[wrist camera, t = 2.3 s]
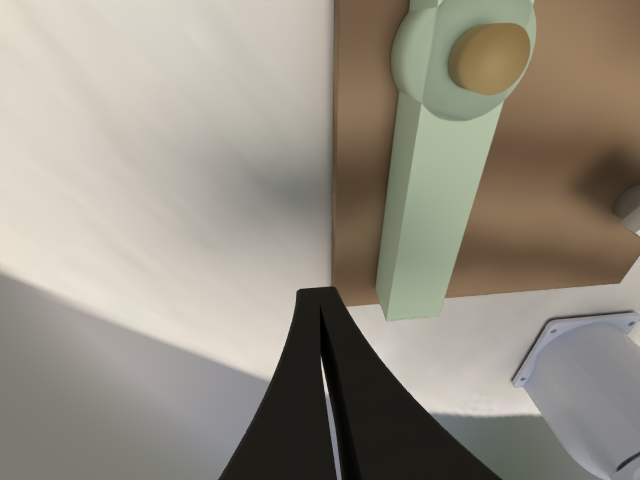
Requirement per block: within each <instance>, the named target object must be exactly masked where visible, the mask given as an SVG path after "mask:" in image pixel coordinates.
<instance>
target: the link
mask: <svg viewBox="0 0 640 480" xmlns="http://www.w3.org/2000/svg"><path fill="white" fill-rule="evenodd" d="M533 3H534V0H410V6H409V12H408V13H407V14H406V16H405V17H404V19H403V21H402V22H401V24H400V26H399V28H398V30H397V33H396V35H395V38H394V42H393V46H392V51H391V71H392V76H393V79H394V82H395V85H396V87H397V89H398V90H399V97H398V105H397V113H396V122H395V130H394V138H393V146H392V155H391V163H390V171H389V179H388V188H387V196H386V204H385V213H384V221H383V229H382V237H381V246H380V254H379V262H378V270H377V279H376V287H375V290H376V293H377V296H378V299H379V302H380V305H381V307H382V310H383V313H384V316H385V319H386V321H393V320H404V319H415V318H426V317H438V316H439V314H440V311H441V308H442V304H443V301H444V298H445V294H446V291H447V288H448V284H449V281H450V278H451V274H452V271H453V268H454V265H455V261H456V258H457V255H458V251H459V248H460V245H461V241H462V238H463V235H464V231H465V228H466V225H467V222H468V218H469V215H470V212H471V208H472V205H473V202H474V198H475V195H476V192H477V189H478V185H479V182H480V179H481V175H482V172H483V169H484V165H485V162H486V159H487V155H488V152H489V149H490V146H491V142H492V139H493V136H494V132H495V129H496V126H497V122H498V119H499V116H500V112H501V109H502V106H503V103H504V100H505V99H506V98H507V97H508V96H509V95H510V94H511V92H512V91H513V90H514V89H515V87H516V86H517V85H518V83H519V82H520V80H521V78H522V77H523V75H524V73H525V71H526V69H527V67H528V65H529V62H530V60H531V57H532V54H533V50H534V46H535V40H536V17H535V12H534V9H533ZM489 23H515V24H518V25H520V26H521V27H523V28H524V29H525V30H526V32H527V34H528V36H529V39H530V56H529V59H528V62H527V65H526V67H525V69H524V71H523V73H522V74H521V76H520V77H519V78H518V80H517V81H516V82H515V83H514V84H513V85H512V86H510V87H509V88H508V89H506V90H505V91H503V92H501V93H498V94H495V95H482V94H479V93H476V92H472V91H469V90H466V89H463V88H461V87H459V86H457V85H456V84H455V83H454V82H453V80H452V78H451V76H450V72H449V60H450V56H451V52H452V50H453V48H454V46H455V44H456V42H457V41H458V39H459V38H460V37H461V36H462V35H463V34H464V33H465V32H466V31H467V30H469V29H470V28H472V27H474V26H476V25H479V24H489Z"/></svg>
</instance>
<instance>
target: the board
mask: <svg viewBox="0 0 640 480" xmlns="http://www.w3.org/2000/svg"><path fill="white" fill-rule="evenodd" d="M409 6H410V0H334V86H333V185H332V285H331V286H334V287H336V288H337V290H338V292H339V295H340V297H341V299H342V301H343V303H344V305H345V307H346V306H358V305H370V304H380V302H379V299H378V296H377V293H376V290H375V287H376V279H377V270H378V262H379V254H380V246H381V237H382V229H383V221H384V213H385V204H386V196H387V188H388V179H389V171H390V163H391V155H392V146H393V138H394V130H395V122H396V113H397V105H398V97H399V90H398V89H397V87H396V85H395V82H394V79H393V76H392V71H391V51H392V46H393V42H394V38H395V35H396V33H397V30H398V28H399V26H400V24H401V22H402V21H403V19H404V17H405V16H406V14H407V13H408V12H409ZM533 9H534V12H535V17H536V40H535V46H534V50H533V54H532V57H531V60H530V62H529V65H528V67H527V69H526V71H525V73H524V75H523V77H522V78H521V80H520V82H519V83H518V85H517V86H516V87H515V89H514V90H513V91H512V92H511V94H510V95H509V96H508V97H507V98H506V99H505V100H504V103H503V106H502V109H501V112H500V116H499V119H498V122H497V126H496V129H495V132H494V136H493V139H492V142H491V146H490V149H489V152H488V155H487V159H486V162H485V165H484V169H483V172H482V175H481V179H480V182H479V185H478V189H477V192H476V195H475V198H474V202H473V205H472V208H471V212H470V215H469V218H468V222H467V225H466V228H465V231H464V235H463V238H462V241H461V245H460V248H459V251H458V255H457V258H456V261H455V265H454V268H453V271H452V274H451V278H450V281H449V284H448V288H447V291H446V294H445V298H452V297H464V296H476V295H488V294H499V293H511V292H523V291H535V290H547V289H558V288H570V287H582V286H594V285H606V284H617V283H620V282H621V281H622V279H623V278H624V276H625V275H626V274H627V272H628V271H629V270H630V268H631V267H632V265H633V264H634V263H635V261H636V260H637V259H638V257H639V256H640V0H534V3H533ZM529 56H530V39H529V36H528V34H527V32H526V30H525V29H524V28H523V27H521V26H520V25H518V24H515V23H489V24H479V25H476V26H474V27H472V28H470V29H469V30H467V31H466V32H465V33H464V34H463V35H462V36H461V37H460V38H459V39H458V41H457V42H456V44H455V46H454V48H453V50H452V52H451V56H450V60H449V72H450V76H451V78H452V80H453V82H454V83H455V84H456V85H457V86H459V87H461V88H463V89H466V90H469V91H472V92H476V93H479V94H482V95H495V94H498V93H501V92H503V91H505V90H506V89H508V88H509V87H510V86H512V85H513V84H514V83H515V82H516V81H517V80H518V78H519V77H520V76H521V74H522V73H523V71H524V69H525V67H526V65H527V62H528V59H529Z"/></svg>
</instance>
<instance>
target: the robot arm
mask: <svg viewBox="0 0 640 480" xmlns="http://www.w3.org/2000/svg"><path fill="white" fill-rule="evenodd" d="M639 320H640V315H639V314H637V313H634V312H633V313H623V314H612V315H601V316H590V317H579V318H569V319H558V320H552V321H550V322H549V323H548V324H547V326H546V327H545V329H544V331H543V332H542V334H541V336H540V337H539V339H538V341H537V342H536V344H535V345H534V347H533V349H532V350H531V352H530V354H529V355H528V357H527V359H526V360H525V362H524V363H523V365H522V367H521V368H520V370H519V372H518V373H517V375H516V377H515V378H514V380H513V381H512V384H513V386H514V387H516V388H518V387H524V389H525V390H526V392H527V393H528V395H529V396H530V398H531V399H532V401H533V402H534V404H535V405H536V407H537V408H538V410H539V411H540V412H541V414H542V415H543V417H544V418H545V420H546V421H547V423H548V424H549V426H550V427H551V429H552V430H553V432H554V433H555V435H556V436H557V438H558V439H559V441H560V442H561V444H562V445H563V447H564V448H565V449H566V450H567V452H568V453H569V454H570V455H571V456H572V457H573V458H574V459H575V460H576V461H577V462H578V463H579V464H580V465H581V466H582V467H584V468H585V469H586V470H588V471H589V472H591V473H592V474H594V475H596V476H597V477H599V478H602V479H604V480H640V347H639V346H638V345H636V344H635V343H634V342H633V341H632V340H631V339H630V338H629V337H627V336H626V335H627V334H628V333H629V331H630V330H631V329H632V328H633V327H634V326H635V324H636V323H637V322H638V321H639ZM321 358H322V363H323V368H324V373H325V378H326V382H327V387H328V392H329V397H330V402H331V407H332V412H333V417H334V423H335V428H336V436H337V444H338V452H339V461H340V469H341V478H342V480H502V479H501V478H500V477H499V476H498V475H496V474H495V473H494V472H493V471H492V470H490V469H489V468H488V467H487V466H485V465H484V464H483V463H482V462H481V461H480V460H479V459H477V458H476V457H475V456H474V455H473V454H472V453H471V452H470V451H468V450H467V449H466V448H465V447H464V446H463V445H461V444H460V443H459V442H458V441H457V440H456V439H455V438H454V437H453V436H452V435H451V434H450V433H449V432H448V431H446V430H445V429H444V428H443V427H442V426H441V425H440V424H439V423H438V422H437V421H436V420H435V419H434V418H433V417H432V416H431V415H430V414H429V413H428V412H427V411H426V410H425V409H424V408H423V407H422V406H421V405H420V404H419V403H418V402H417V401H416V400H415V399H414V398H413V397H412V395H411V394H410V393H409V392H408V391H407V390H406V389H405V388H404V387H403V386H402V384H401V383H400V382H399V381H398V380H397V379H396V377H395V376H394V375H393V374H392V373H391V372H390V370H389V369H388V368H387V367H386V365H385V364H384V363H383V362H382V360H381V359H380V358H379V357H378V355H377V354H376V352H375V351H374V350H373V348H372V347H371V346H370V344H369V343H368V341H367V340H366V339H365V337H364V336H363V334H362V333H361V331H360V330H359V328H358V327H357V325H356V323H355V322H354V320H353V319H352V317H351V315H350V314H349V312H348V310H347V308H346V307H345V305H344V303H343V301H342V299H341V297H340V295H339V292H338V290H337V288H336V287H334V286H331V287H319V288H306V289H299V290H298V291H297V293H296V305H295V310H294V315H293V319H292V323H291V326H290V330H289V333H288V337H287V340H286V343H285V346H284V349H283V352H282V354H281V357H280V360H279V363H278V365H277V368H276V370H275V373H274V375H273V377H272V380H271V382H270V384H269V387H268V389H267V391H266V393H265V395H264V398H263V400H262V402H261V404H260V406H259V408H258V410H257V412H256V414H255V416H254V418H253V420H252V422H251V424H250V426H249V427H248V429H247V431H246V433H245V435H244V437H243V438H242V440H241V442H240V443H239V445H238V447H237V449H236V450H235V452H234V454H233V456H232V458H231V459H230V461H229V463H228V465H227V466H226V468H225V469H224V471H223V473H222V475H221V476H220V478H219V479H218V480H337V476H336V469H335V463H334V456H333V448H332V442H331V435H330V428H329V421H328V414H327V406H326V399H325V391H324V384H323V376H322V369H321Z"/></svg>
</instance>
